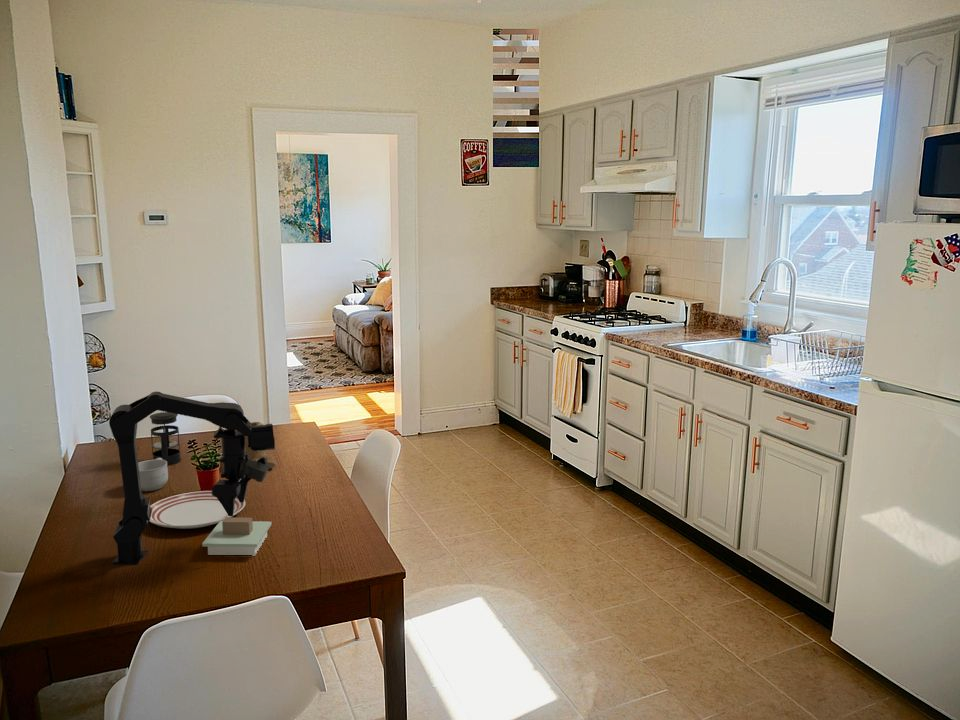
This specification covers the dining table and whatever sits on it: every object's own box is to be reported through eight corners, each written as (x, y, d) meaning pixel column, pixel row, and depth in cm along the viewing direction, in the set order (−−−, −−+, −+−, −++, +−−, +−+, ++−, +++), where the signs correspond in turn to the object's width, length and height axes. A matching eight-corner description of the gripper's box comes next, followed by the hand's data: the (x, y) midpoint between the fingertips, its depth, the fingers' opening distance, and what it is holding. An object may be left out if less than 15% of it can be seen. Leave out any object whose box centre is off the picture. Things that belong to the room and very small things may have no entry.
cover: (257, 547, 188) (256, 531, 188) (202, 546, 188) (201, 530, 187) (271, 524, 202) (270, 509, 201) (220, 523, 202) (219, 509, 201)
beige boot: (236, 460, 262) (234, 419, 259) (271, 456, 266) (269, 416, 264) (240, 474, 248) (238, 431, 245) (277, 470, 253) (275, 428, 250)
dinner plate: (147, 504, 222) (147, 494, 221) (242, 494, 232) (242, 484, 231) (142, 543, 197) (141, 531, 196) (249, 529, 206) (248, 518, 206)
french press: (153, 457, 263) (149, 395, 258) (181, 455, 266) (177, 393, 261) (150, 468, 252) (146, 403, 247) (180, 466, 255) (176, 401, 250)
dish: (254, 556, 190) (254, 545, 189) (208, 555, 190) (207, 544, 189) (267, 536, 202) (266, 525, 201) (223, 535, 202) (222, 525, 201)
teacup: (155, 495, 228) (153, 471, 227) (124, 492, 231) (122, 468, 229) (181, 480, 242) (180, 456, 240) (152, 477, 244) (150, 454, 242)
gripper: (254, 464, 182) (257, 524, 185) (274, 441, 200) (276, 495, 203) (209, 464, 181) (212, 523, 185) (233, 441, 200) (235, 495, 203)
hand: (236, 508), depth 194 cm, fingers open, 9 cm apart
